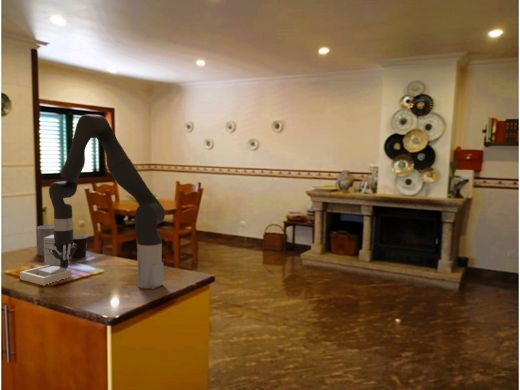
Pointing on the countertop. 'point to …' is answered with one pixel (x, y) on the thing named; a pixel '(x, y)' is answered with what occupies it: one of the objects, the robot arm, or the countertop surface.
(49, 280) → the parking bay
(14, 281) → the countertop surface
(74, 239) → the coffee mug
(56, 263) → the supplement box
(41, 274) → the white box with feet
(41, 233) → the pillar candle
